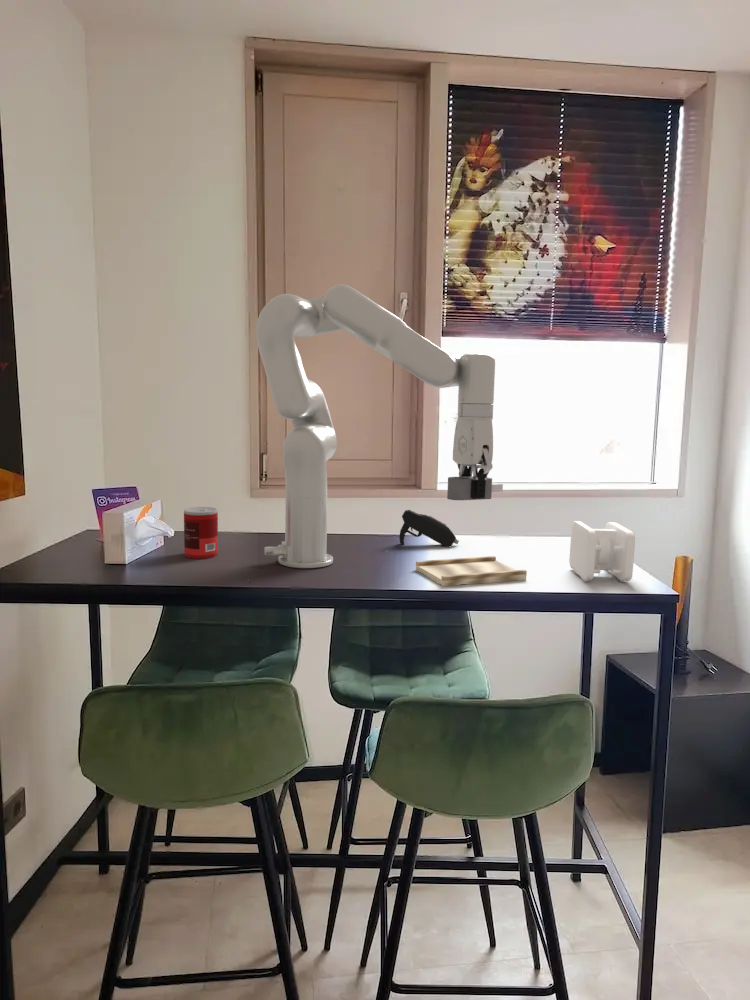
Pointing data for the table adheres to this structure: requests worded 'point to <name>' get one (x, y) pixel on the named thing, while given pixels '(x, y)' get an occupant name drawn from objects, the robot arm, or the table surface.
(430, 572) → the board
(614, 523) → the cable organizer
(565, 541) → the table surface
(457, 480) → the connector
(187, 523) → the canned food
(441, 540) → the gun
